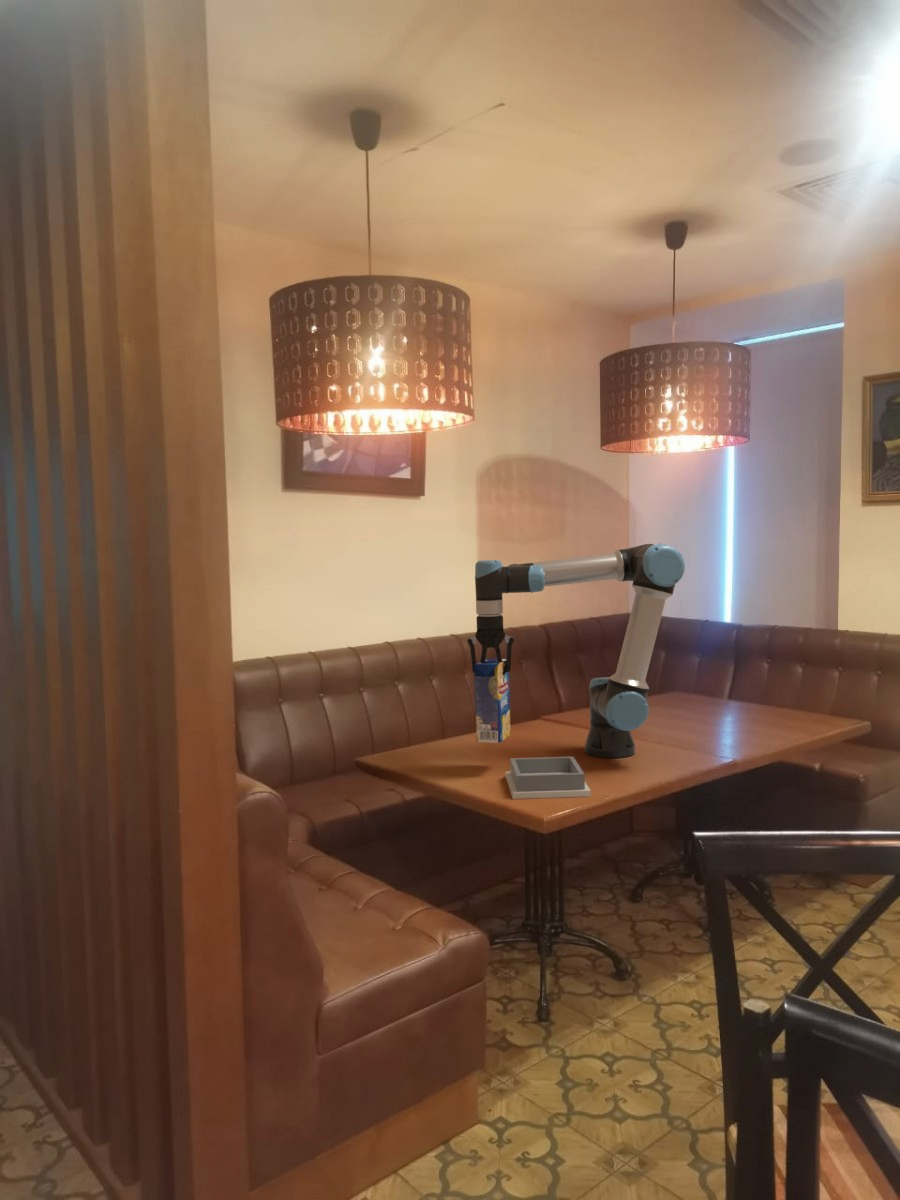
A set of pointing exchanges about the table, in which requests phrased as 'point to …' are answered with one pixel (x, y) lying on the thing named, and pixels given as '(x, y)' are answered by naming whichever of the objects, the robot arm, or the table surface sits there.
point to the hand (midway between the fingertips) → (492, 696)
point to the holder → (546, 778)
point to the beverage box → (492, 701)
